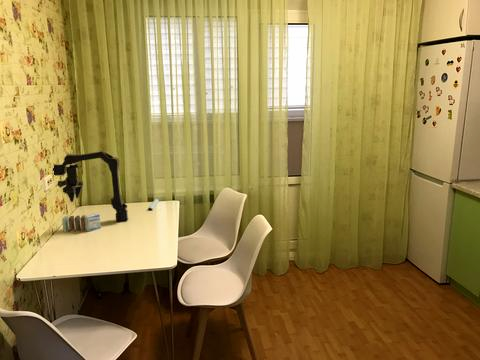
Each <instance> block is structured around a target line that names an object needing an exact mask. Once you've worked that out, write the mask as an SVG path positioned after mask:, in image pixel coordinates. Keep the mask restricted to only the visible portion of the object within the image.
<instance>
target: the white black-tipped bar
mask: <svg viewBox="0 0 480 360" xmlns="http://www.w3.org/2000/svg"><path fill="white" fill-rule="evenodd" d="M157 203H158V204H159V199H157V198H156V199H154V200H153V201H152V202H151V204H150V206H148V208H147V211H148V210H149V211H150V210H151V211H153V210H155V208H154V207H156V206H157V205H158V204H157ZM156 204H157V205H156Z"/></svg>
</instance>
